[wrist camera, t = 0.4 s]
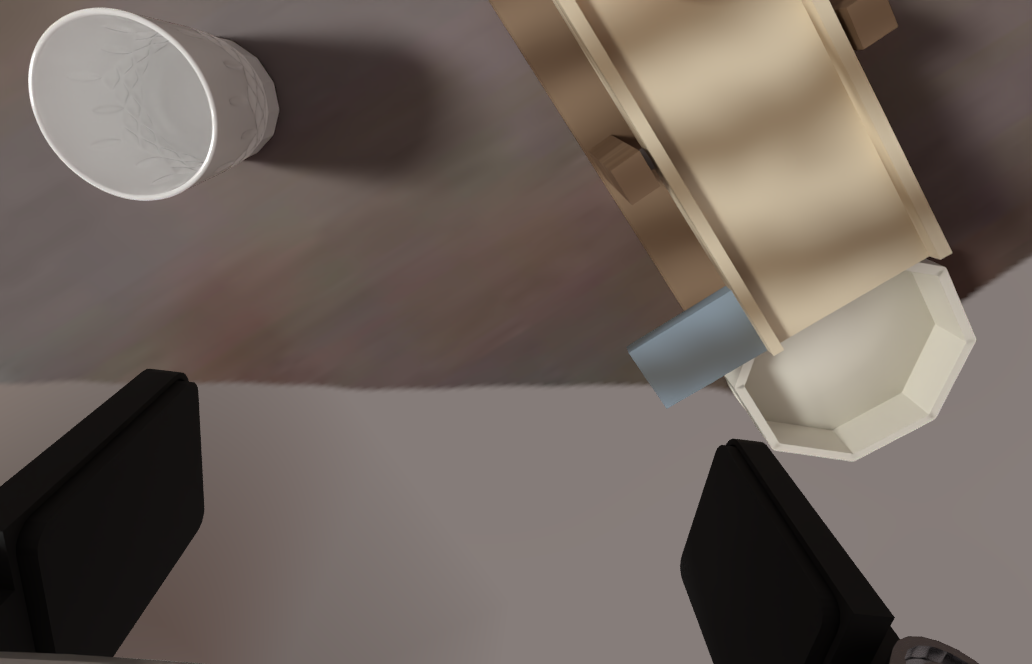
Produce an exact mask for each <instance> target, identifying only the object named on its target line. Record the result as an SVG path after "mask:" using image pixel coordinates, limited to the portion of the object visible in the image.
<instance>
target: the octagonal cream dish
mask: <svg viewBox="0 0 1032 664" xmlns="http://www.w3.org/2000/svg"><path fill="white" fill-rule="evenodd" d="M975 343H976V337H975V334H974V332H973V330H972V327H971V325H970V323H969V320H968V318H967V315H966V313H965V311H964V308H963V306H962V304H961V301H960V299H959V297H958V294H957V292H956V290H955V287H954V285H953V282H952V280H951V278H950V275H949V273H948V271H947V268H946V267H944V266H942V265H940V264H937V263H935V262H933V261H930V260H928V259H924V260H922V261H920V262H919V263H917V264H915V265H913V266H912V267H910V268H908V269H907V270H905V271H903V272H901V273H900V274H898V275H896V276H895V277H893V278H891V279H889V280H888V281H886V282H884V283H882V284H881V285H879V286H877V287H876V288H874V289H872V290H870V291H869V292H867V293H865V294H864V295H862V296H860V297H858V298H857V299H855V300H853V301H851V302H850V303H848V304H846V305H845V306H843V307H841V308H839V309H838V310H836V311H834V312H833V313H831V314H829V315H827V316H826V317H824V318H822V319H820V320H819V321H817V322H815V323H814V324H812V325H810V326H808V327H807V328H805V329H803V330H802V331H800V332H798V333H796V334H795V335H793V336H791V337H789V338H788V339H786V340H784V341H783V342H781V343H780V344H781V345H782V347H783V349H784V351H782V352H780V353H778V354H777V355H775V356H773V355H772V354H771V353H770V352H769V351H768V350H767V351H765V352H764V353H762V354H760V355H758V356H757V357H755V358H753V359H752V360H750V361H748V362H746V363H745V364H743V365H741V366H740V367H738V368H736V369H734V370H733V371H731V372H729V373H728V374H726V375H724V376H725V378H726V381H727V384H728V385H729V387H730V389H731V391H732V393H733V394H734V395H735V397H736V398H737V400H738V401H739V402H740V404H741V405H742V406H743V407H744V408H745V410H746V411H747V413H748V414H749V416H750V418H751V419H752V421H753V422H754V424H755V426H756V427H757V428H758V430H759V431H760V433H761V434H762V435H763V437H764V438H765V439H766V441H767V442H768V443H769V445H770V446H771V448H772V449H773V450H775V451H782V452H790V453H796V454H804V455H811V456H817V457H825V458H831V459H839V460H846V461H856V460H858V459H860V458H862V457H863V456H865V455H867V454H869V453H871V452H873V451H875V450H877V449H879V448H881V447H883V446H884V445H887V444H889V443H890V442H892V441H894V440H896V439H898V438H900V437H902V436H904V435H906V434H908V433H910V432H911V431H913V430H915V429H917V428H919V427H921V426H923V425H925V424H927V423H928V422H931V421H932V420H934V419H935V418H936V417H937V415H938V413H939V412H940V410H941V408H942V406H943V404H944V402H945V400H946V398H947V396H948V394H949V393H950V391H951V389H952V387H953V384H954V383H955V381H956V379H957V377H958V375H959V373H960V371H961V369H962V368H963V366H964V364H965V362H966V360H967V358H968V356H969V354H970V352H971V350H972V348H973V346H974V345H975Z"/></svg>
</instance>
